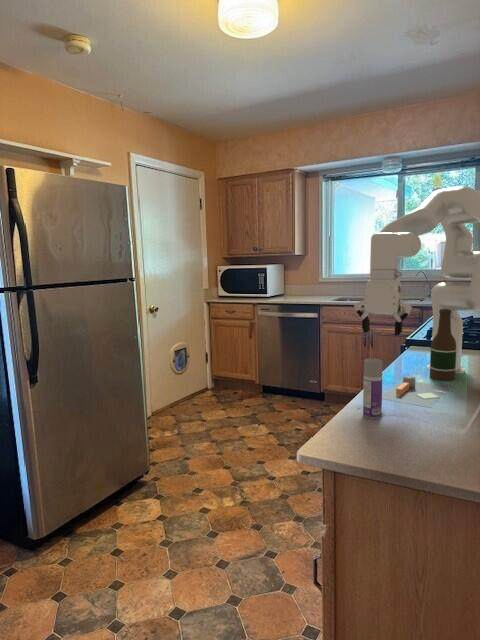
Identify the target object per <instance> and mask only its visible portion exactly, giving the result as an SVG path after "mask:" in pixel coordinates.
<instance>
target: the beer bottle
mask: <svg viewBox="0 0 480 640" xmlns="http://www.w3.org/2000/svg"><path fill="white" fill-rule="evenodd" d="M439 313H440V317H439V326H438V332H437V335H436V336H435V337H434V338H433V341H432V340H431V343H430V344H431V345H430V360H429V364H430V369H429V378H430V379H432V380H435V381H440V382H441V381H442V382H452V381H454V380H455V378H456V373H455V368H456V341H455V338H454V337H453V335H452V334H451V315H450V313H451V310H450V309H440V311H439Z"/></svg>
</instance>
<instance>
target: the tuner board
mask: <svg viewBox="0 0 480 640" xmlns="http://www.w3.org/2000/svg"><path fill="white" fill-rule="evenodd" d="M401 384H403V379H401V380H400V381H399V382H398V383H396V384H395V385H394V386H393V387H391V388H390V389H389V390H387V391H386V392H385V393H384V394H382V400H384V401H392V402H395V403H402V404H407V405H412V406H418V407H424V408H432V406H434V405H435V404H436V402H437V401H438V400H439V399H440V398H441V397H442V396H443V394H446V393H447V390H448V389H449V388H450V386H448V385H447V386H446V385H440V384H433V383H428V382H420V381H415V387H414V388H409V389H408V390H407V391H406V392H404V393H403V394H402V395H396V388H398V387H399V386H400V385H401Z"/></svg>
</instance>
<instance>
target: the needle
mask: <svg viewBox="0 0 480 640" xmlns="http://www.w3.org/2000/svg"><path fill="white" fill-rule="evenodd" d="M402 380H403V384H401V385H400V386H399V387H398V388H396V395H402V394H403V393H404V392H406V391H407V390H408V389H409V388H414V387H415V382H416V377H415V376H412V375H403V376H402Z"/></svg>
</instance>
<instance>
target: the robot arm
mask: <svg viewBox="0 0 480 640" xmlns="http://www.w3.org/2000/svg"><path fill="white" fill-rule="evenodd" d="M477 223H480V191H479V190H478V189H474V188H472V187H471V186H463V185H461V186H454V187H448V188H440V189H437V190H433V192H432V193H430V194H429V195H428V196H427V197H426V198H425V199H424V200H423V201H422V202H421V203H420V204H419V205H418V206H417V207H416V208H415V209H414V210H413V211H411V212H409V213H407V214H404V215H403V216H401V217H398V218H397V219H395V220H393V221H391V222H389V223H388V224H386V225H384V227H382V229H380V231H378V232H376V233H374V234H372V235H371V237H370V260H369V261H370V262H369V263H370V265H369V267H370V268H369V269H370V270H369V280H367V282H366V286H365V291H364V292H365V293H364V299H362V300H360V301H359V302H356V303H355V304H354V305H353V307H354V309H355V311H356V314H357V315H358V316H359V317H360V319H361V321H362V322H361V323H362V325H361V328H362V330H363V331H362V332H363V333H365V334H366V333H369V332H370V318H369V317H370V315H371V314H372V315H373V314H374V315H389V316H390V315H391V316H393V317H394V319H395V320H396V321H395V322H394V336H399V335H401V333H403V321H405V319H407V318H408V317H409V316H410V314H411V313H412V311H413V310H414V308H413V306H412V305H410V304H408V303H407V302H404V301H403V298H402V297H403V296H402V285H401V280H399V279H398V278H400V277H402V276H403V271H399V270H398V259H407V258H413V257H414V256H416V255H418V253H419V252H420V250H421V249H422V241H421V239H420V237H419V236H423V235H425V234H428V233H430V232H432V231H433V230H435V228H437V226H438V225H439V224H441V226H442V229H443V232H444V235H445V244H444V245H445V246H444V249H443V255H442V260H441V265H440V266H441V267H440V272H441V275H442V277H444V278H447V279H452V280H470V282H457V281H456V282H455V281H454V282H453V281H446V282H445V281H444V282H439V283H437V284H436V285H434V286H433V287H432V289H431V293H430V301H431V307H432V332H431V333H432V338H431V339H432V340H431V342H432V341H433V338H434V337H435V336H436V335H437V332H438V326H439V317H440V313H439V311H440V309H450V310H451V313H450V315H451V334H452V335H453V337H454V338H455V341H456V368H455V374H462V375H463V374H465V373H466V368H465V366H464V367H463V366H462V350H463V349H462V347H463V331H464V330H463V328H464V326H463V325H464V324H463V319H462V316H461V315H460V313H459V311H463V312H472V313H473V312H480V250H476V251H475V250H474V251H473V250H472V249H473V242H474V237H473V234H472V232H471V230H470V229H469V228H468V227H467V226H466V225H465V224H477ZM361 307H363V309H362V308H361ZM402 308H403V309H405V310H404V313H403V314H402V313H401V312H402V310H403V309H402ZM425 369H427V370H430V363H429V364H427V365H426V367H425Z"/></svg>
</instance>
